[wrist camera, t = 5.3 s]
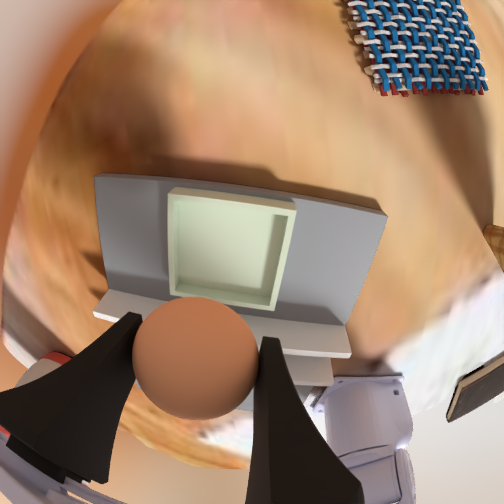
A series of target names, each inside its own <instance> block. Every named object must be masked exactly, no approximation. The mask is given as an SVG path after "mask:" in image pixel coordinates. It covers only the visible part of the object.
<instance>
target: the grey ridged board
mask: <svg viewBox="0 0 504 504" xmlns="http://www.w3.org/2000/svg"><path fill="white" fill-rule="evenodd" d="M94 182H95V196H96V208H97V218H98V226H99V234H100V241H101V248H102V254H103V260H104V266H105V271H106V276H107V281H108V286H109V290H108V291H107V292H106V294H105V295H104V296H103V298H102V299H101V300H100V302H99V303H98V304H97V306H96V307H95V309H94V310H93V313H94V316H95V317H98V318H101V319H104V320H108V321H111V322H115V323H116V322H117V321H118V320H119V319H120V318H122V317H123V316H124V315H125V314H126V313H127V312H134V313H138V314H142V320H143V321H144V320H145V319H146V317H147V316H148V315H149V314H150V313H151V312H152V311H154V310H155V309H156V308H158V307H159V306H161V305H163V304H164V303H167V302H169V301H171V300H174V299H178V298H183V297H180V296H175V295H170V284H169V263H168V193H169V192H170V191H171V190H172V189H174V188H175V187H183V188H192V189H201V190H210V191H218V192H226V193H233V194H241V195H248V196H255V197H262V198H268V199H275V200H281V201H287V202H293V203H295V206H296V210H297V212H296V217H295V222H294V226H293V231H292V236H291V240H290V245H289V249H288V254H287V258H286V263H285V267H284V272H283V276H282V280H281V285H280V289H279V293H278V297H277V302H276V306H275V310H274V311H269V310H262V309H255V308H248V307H241V306H234V305H228V304H224V305H226V306H228V307H229V308H231V309H232V310H234V311H235V312H236V313H237V314H238V315H239V316H240V317H241V318H242V319H243V320H244V321H245V322H246V323H247V325H248V326H249V328H250V329H251V331H252V333H253V335H254V337H255V340H256V343H257V346H258V351H259V350H260V346H261V342H262V338H263V336H267V337H275V338H279V340H280V342H281V347H282V351H283V355H284V358H285V361H286V364H287V367H288V370H289V373H290V375H291V378H292V380H293V383H294V385H295V388H296V390H297V392H298V395H299V397H300V399H301V401H302V403H303V404H304V402H305V400H306V399H307V397H308V395H309V394H310V392H311V390H312V388H313V387H314V386H332V385H333V384H334V378H333V372H332V366H331V359H330V358H350V356H351V354H352V352H351V348H350V343H349V339H348V335H347V332H346V328H345V325H346V323H347V321H348V319H349V316H350V314H351V312H352V310H353V307H354V305H355V303H356V301H357V298H358V296H359V294H360V291H361V289H362V287H363V284H364V282H365V279H366V277H367V274H368V272H369V269H370V266H371V264H372V261H373V259H374V256H375V253H376V250H377V248H378V245H379V242H380V239H381V236H382V233H383V230H384V227H385V224H386V221H387V218H388V216H387V215H386V214H385V213H384V212H383V211H380V210H376V209H372V208H367V207H363V206H358V205H353V204H349V203H344V202H339V201H334V200H329V199H323V198H318V197H313V196H307V195H301V194H296V193H290V192H284V191H277V190H271V189H265V188H258V187H251V186H244V185H236V184H228V183H220V182H212V181H203V180H193V179H183V178H172V177H161V176H147V175H132V174H113V173H101V174H99V175H97V176H95V177H94ZM135 381H136V383H137V386H138V389H141V387H140V385H139V383H138V381H137V379H135ZM236 409H237V410H245V411H253V389H252V391H251V392H250V394H249V395H248V396H247V398H246V399H245V400H244V401H243V402H242V403H241V404H240V405H239V406H238V407H237V408H236Z"/></svg>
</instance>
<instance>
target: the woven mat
mask: <svg viewBox="0 0 504 504" xmlns="http://www.w3.org/2000/svg"><path fill="white" fill-rule="evenodd" d="M343 1H345V2H348V1H350V2H349V3H348V5H349V6H352V7H349V8H347V11H348V13H349V14H351V15H355V16H356V17H353V19H354V20H357V21H351V22H347V23H348V25H349V28H350V30H356V29H360V35H354V40H355V42H356V43H357V44H362V43H363V45H364V49H365V51H363V54H364V57H365V59H371V61H372V65H371V66H368V67H366V68H364V70H365V73H366V74H368V75H371V76H374V78H377V79H376V80H374V83H375V84H372V86H373V89H374V92H380V93H381V96H388V95H387V92H389V91H391V92H392V95H399V94H398V91H400V93H401V94H402V96H403V97H408V95H409V94H408V93H407V91H406V90H413V94H420V93H419V89H422V92H423V95H427V89H431V91H432V94H436V93H438V91H437V89H440V91H441V93H446V89H448V91H449V93H451V94H456V95H459V94H460V91H459V90H464V92H465V94H471V95H475V91H478V93H479V95H484V94H483V89H484V91H487V90H489V89H488V87H487V84H486V82H485V81H487V80H488V78H486V77H484V76H485V70H484V68H483V67H482V65H481V64H482V63H483V61H482V60H480V52H481V49H478V48H477V46H476V45H475V44H478V43H477V41H475V36H474V33H473V32H472V31H471V29H470V28H469V27H468V25H469V26H471V23H469V22H468V16H467V14H466V13H465V12H464V11H463V10H464V7H463V6H461V3H460V0H343ZM408 4H409V5H408ZM426 6H427V7H426ZM462 9H463V10H462ZM457 11H458V12H459V13H458V12H457ZM461 18H462V19H461ZM442 21H443V22H442ZM455 23H457V24H458V25H456V24H455ZM383 29H384V30H383ZM409 31H410V32H409ZM466 31H467V32H466ZM428 32H429V33H430V34H429V33H428ZM460 36H461V37H462V38H463V39H462V38H461V37H460ZM468 36H469V38H468ZM376 44H378V46H376ZM457 48H458V49H459V50H457ZM473 51H474V53H473ZM382 58H383V62H384V64H382ZM393 59H394V60H393ZM428 62H429V63H430V64H428ZM461 63H462V64H461ZM480 63H481V64H480ZM462 65H463V66H464V67H463V66H462ZM475 66H477V67H478V69H477V68H475ZM431 74H432V75H431ZM403 77H404V78H403ZM458 78H460V79H458ZM473 79H474V80H473ZM482 87H483V89H482ZM469 90H470V91H469Z"/></svg>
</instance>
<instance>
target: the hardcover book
mask: <svg viewBox="0 0 504 504" xmlns="http://www.w3.org/2000/svg"><path fill="white" fill-rule="evenodd" d="M503 391H504V356H502V357H501V358H499V359H497V360H496V361H494V362H493V363H491V364H490V365H488V366H486V367H485V368H484V364H483V365H481V366H480V367H478V368H477V369H475V370H473V371H471V372H469V373H468V374H466V375H465V376H464V377H463V378H462V379H461V381H460V382H459V383H458V385H457V386H456V387H455V390H454V393H453V396H452V399H451V401H450V404H449V407H448V410H447V413H446V418H447V421H448V423H449V422H452V421H454V420H456V419H458V418H460V417H462V416H463V415H465V414H467V413H469V412H471V411H472V410H474V409H476V408H478V407H479V406H481V405H483V404H484V403H486V402H488V401H489V400H491V399H492V398H494V397H496V396H497V395H499V394H500V393H502V392H503Z"/></svg>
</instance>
